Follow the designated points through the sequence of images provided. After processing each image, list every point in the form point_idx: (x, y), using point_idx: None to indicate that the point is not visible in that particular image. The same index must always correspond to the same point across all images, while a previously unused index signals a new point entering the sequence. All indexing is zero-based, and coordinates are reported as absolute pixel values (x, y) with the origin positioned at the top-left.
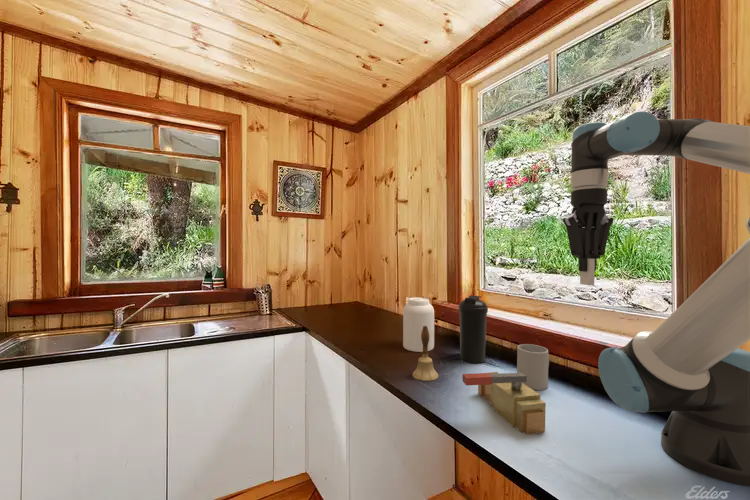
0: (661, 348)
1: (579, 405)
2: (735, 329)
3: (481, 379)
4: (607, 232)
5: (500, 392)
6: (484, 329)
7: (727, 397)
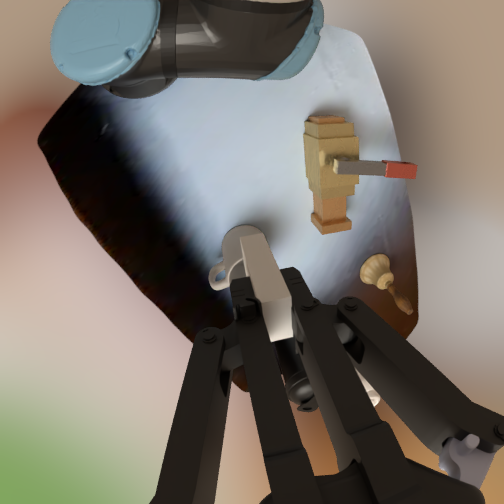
0: None
1: (212, 178)
2: None
3: (399, 163)
4: (176, 456)
5: None
6: (290, 350)
7: None
